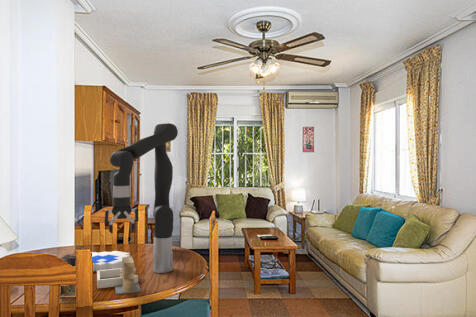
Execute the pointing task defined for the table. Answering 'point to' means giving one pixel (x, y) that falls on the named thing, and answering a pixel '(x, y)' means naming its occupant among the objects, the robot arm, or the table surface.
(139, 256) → the table surface
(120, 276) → the offcut upper
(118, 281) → the u-shaped fence
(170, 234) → the robot arm
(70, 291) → the coffee box
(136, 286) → the mat
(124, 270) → the tan upright block
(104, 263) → the pixel art tile
